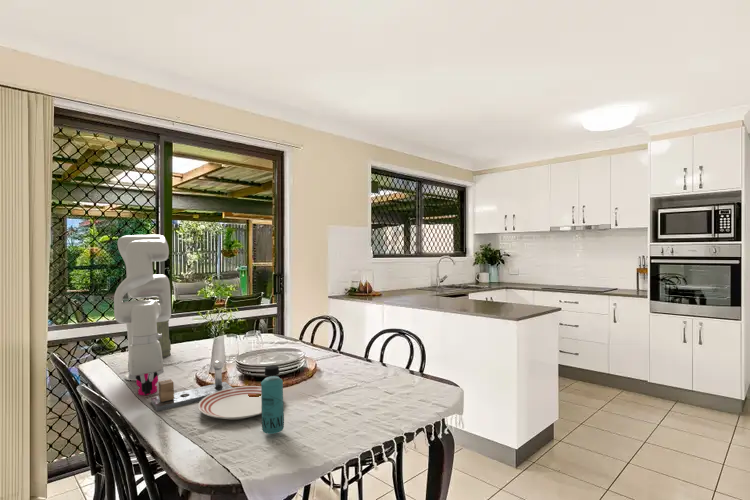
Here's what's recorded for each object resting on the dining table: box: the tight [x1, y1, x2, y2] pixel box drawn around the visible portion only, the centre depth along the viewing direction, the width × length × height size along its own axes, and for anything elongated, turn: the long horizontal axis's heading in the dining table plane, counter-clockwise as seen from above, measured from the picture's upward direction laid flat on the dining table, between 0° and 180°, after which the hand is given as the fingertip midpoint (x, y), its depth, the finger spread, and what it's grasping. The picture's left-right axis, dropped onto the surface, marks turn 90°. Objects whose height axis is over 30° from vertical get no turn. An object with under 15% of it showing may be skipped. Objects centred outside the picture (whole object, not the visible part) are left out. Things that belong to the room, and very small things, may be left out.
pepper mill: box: [136, 373, 159, 396], centre depth 161 cm, size 7×7×20 cm
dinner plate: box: [197, 385, 262, 421], centre depth 145 cm, size 27×27×3 cm
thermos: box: [145, 295, 172, 358], centre depth 211 cm, size 9×12×35 cm
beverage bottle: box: [260, 365, 285, 435], centre depth 125 cm, size 6×7×20 cm
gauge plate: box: [150, 360, 234, 412], centre depth 155 cm, size 10×26×12 cm, turn 128°
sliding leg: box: [157, 379, 175, 402], centre depth 150 cm, size 4×4×6 cm
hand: (147, 393), depth 146 cm, fingers closed
